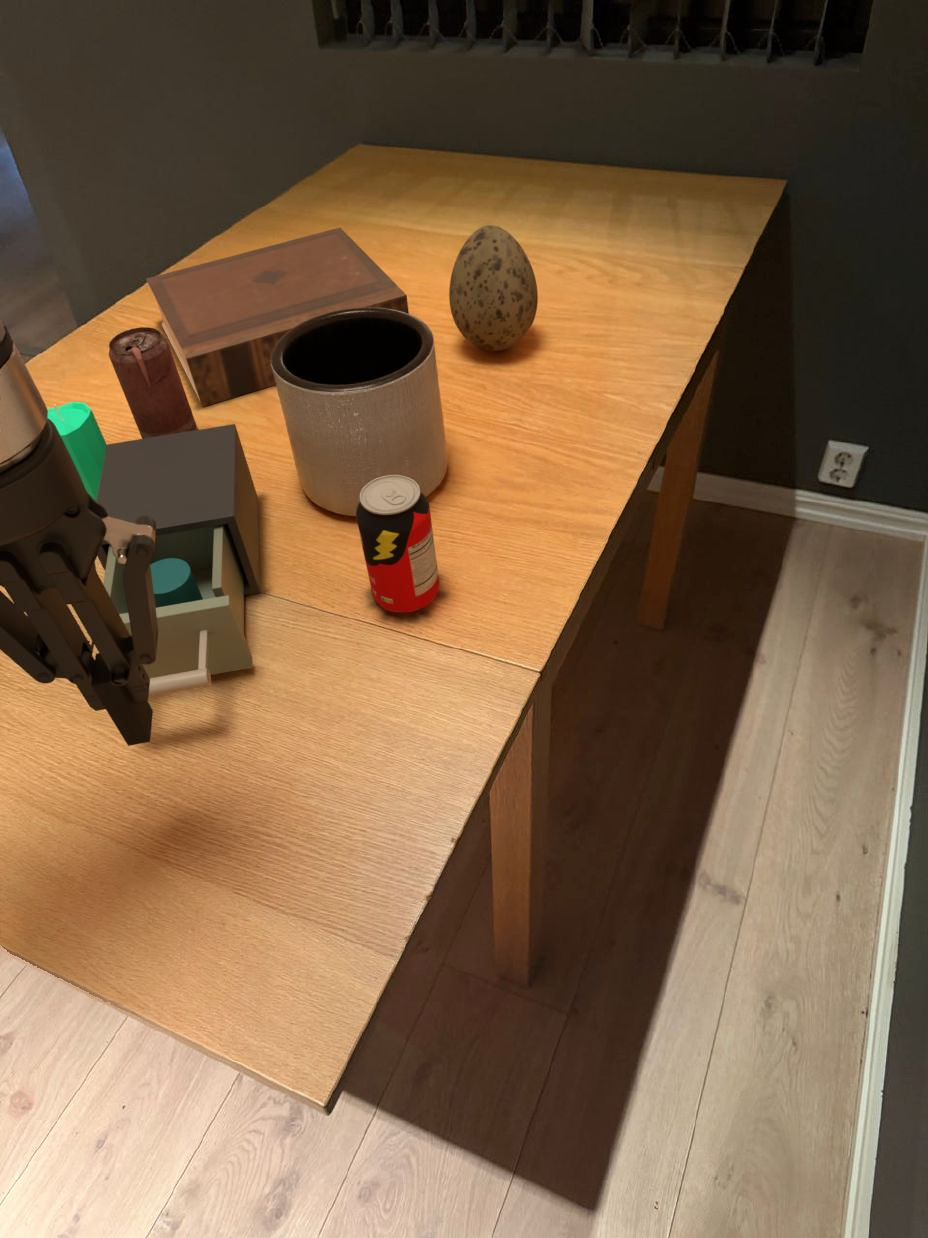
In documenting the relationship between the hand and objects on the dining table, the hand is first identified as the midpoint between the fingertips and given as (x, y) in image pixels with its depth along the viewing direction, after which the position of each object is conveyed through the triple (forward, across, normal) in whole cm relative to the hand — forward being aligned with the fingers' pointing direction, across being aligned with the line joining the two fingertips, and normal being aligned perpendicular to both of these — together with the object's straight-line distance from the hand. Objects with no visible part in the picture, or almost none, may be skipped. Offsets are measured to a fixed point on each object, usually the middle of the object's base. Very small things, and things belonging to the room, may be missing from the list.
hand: (140, 727), depth 61 cm
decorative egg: (+11, +37, +61) cm, 72 cm away
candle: (+11, -11, +42) cm, 45 cm away
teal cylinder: (+8, 0, +18) cm, 20 cm away
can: (+11, -3, +49) cm, 50 cm away
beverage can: (+11, +20, +19) cm, 29 cm away
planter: (+11, +19, +38) cm, 44 cm away
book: (+11, +10, +73) cm, 74 cm away
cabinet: (+10, 0, +30) cm, 32 cm away
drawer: (+10, 0, +16) cm, 19 cm away
